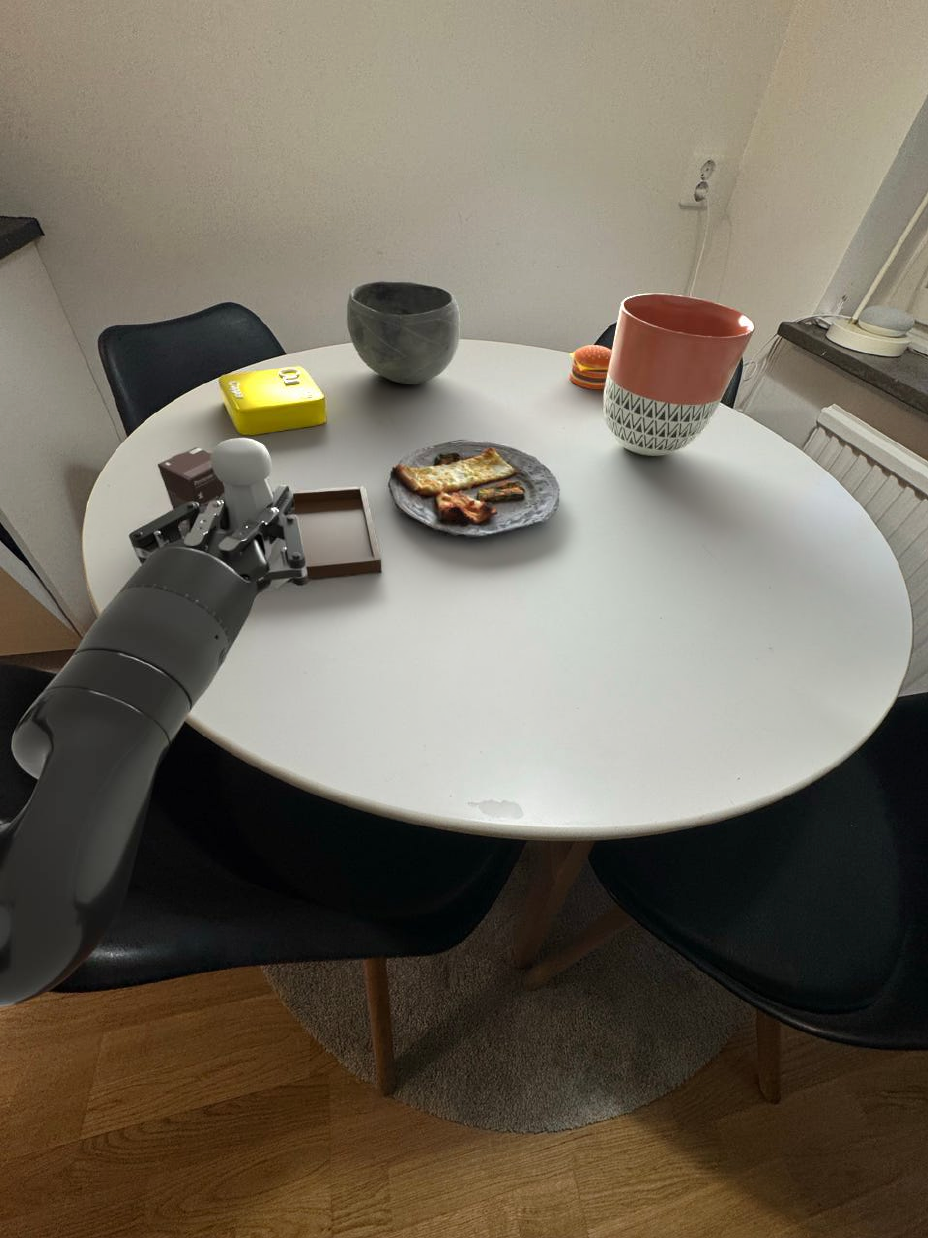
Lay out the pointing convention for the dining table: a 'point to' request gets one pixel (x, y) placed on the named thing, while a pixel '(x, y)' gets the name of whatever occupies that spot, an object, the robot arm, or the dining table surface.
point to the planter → (670, 369)
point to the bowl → (404, 329)
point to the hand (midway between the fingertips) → (265, 491)
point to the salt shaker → (245, 484)
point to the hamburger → (590, 366)
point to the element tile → (272, 400)
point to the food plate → (473, 488)
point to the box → (191, 478)
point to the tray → (336, 532)
